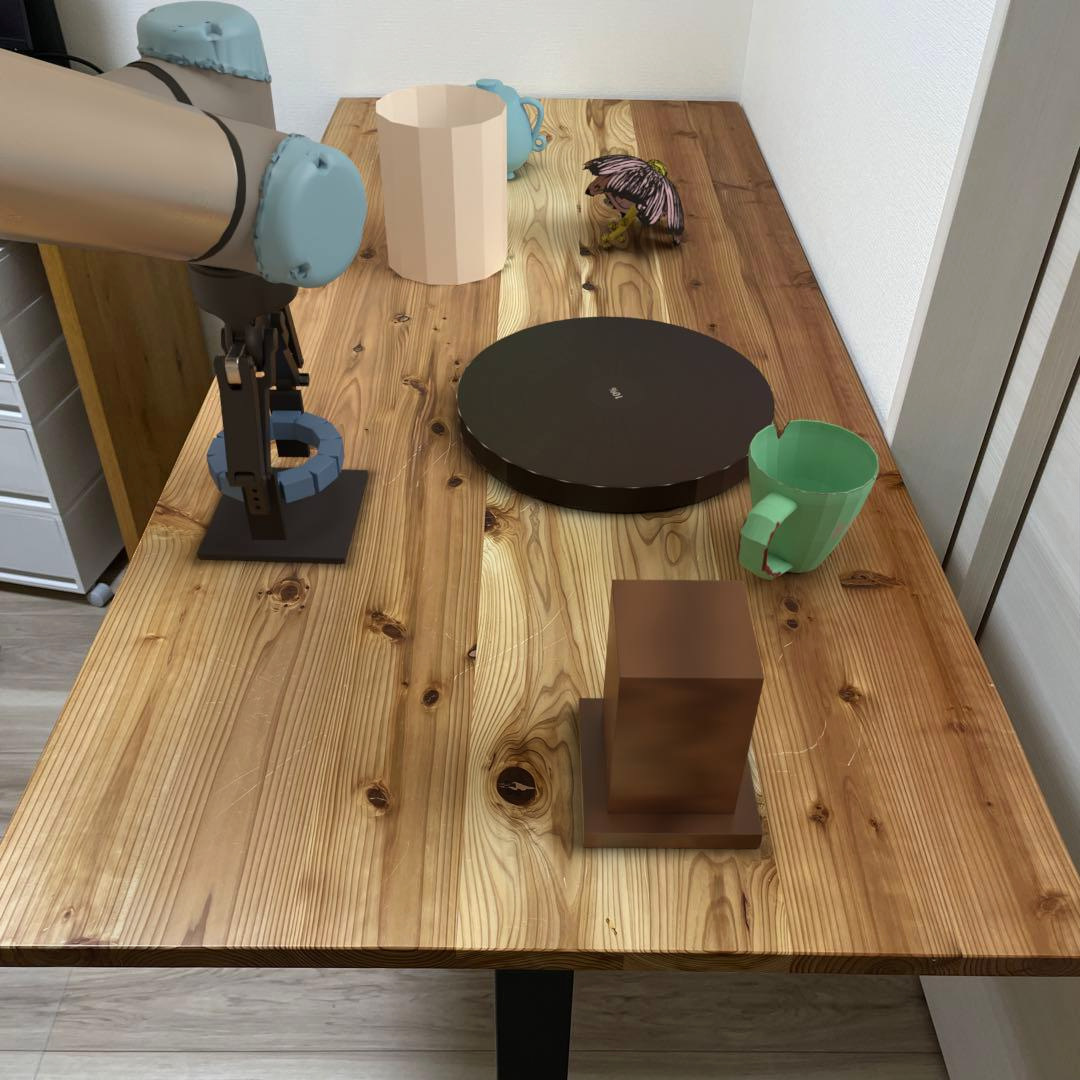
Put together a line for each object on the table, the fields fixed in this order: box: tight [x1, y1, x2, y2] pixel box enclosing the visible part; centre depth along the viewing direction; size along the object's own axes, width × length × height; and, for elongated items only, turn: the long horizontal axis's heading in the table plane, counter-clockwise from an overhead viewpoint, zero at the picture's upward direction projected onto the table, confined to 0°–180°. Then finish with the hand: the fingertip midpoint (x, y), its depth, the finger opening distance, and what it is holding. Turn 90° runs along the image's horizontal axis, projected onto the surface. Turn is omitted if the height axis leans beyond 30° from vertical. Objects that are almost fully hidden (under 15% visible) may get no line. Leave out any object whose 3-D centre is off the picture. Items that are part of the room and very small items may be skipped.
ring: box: [205, 411, 346, 503], centre depth 87 cm, size 11×11×2 cm
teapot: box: [466, 78, 548, 180], centre depth 148 cm, size 20×17×12 cm
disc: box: [455, 315, 776, 513], centre depth 102 cm, size 30×30×3 cm
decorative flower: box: [582, 153, 685, 250], centre depth 130 cm, size 15×12×15 cm
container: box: [375, 83, 509, 286], centre depth 124 cm, size 14×14×18 cm
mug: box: [736, 419, 880, 581], centre depth 83 cm, size 15×10×10 cm
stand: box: [577, 578, 765, 849], centre depth 66 cm, size 11×11×14 cm
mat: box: [196, 466, 369, 564], centre depth 91 cm, size 12×12×1 cm
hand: (282, 494), depth 90 cm, fingers closed on ring, 10 cm apart
